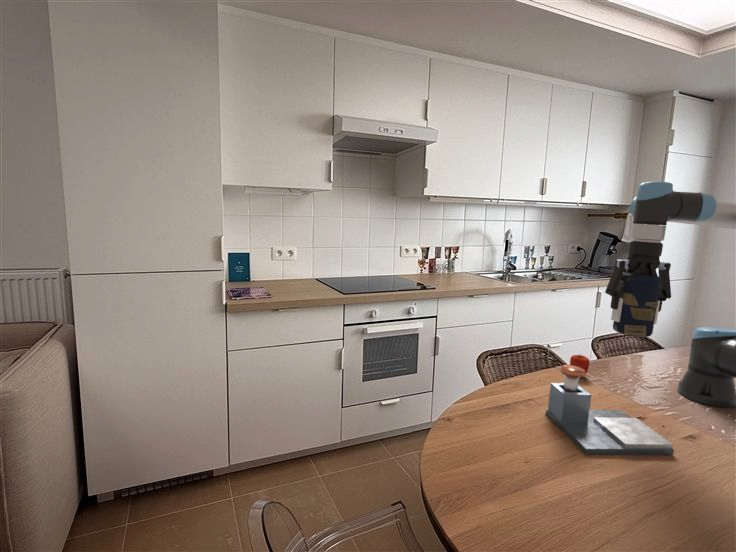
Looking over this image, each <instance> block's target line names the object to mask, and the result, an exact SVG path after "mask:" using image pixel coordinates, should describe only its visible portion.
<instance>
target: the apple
mask: <svg viewBox="0 0 736 552" xmlns="http://www.w3.org/2000/svg"><path fill="white" fill-rule="evenodd" d="M569 365H572V366H577V367H580V368H582V369H584V370H585V376H586V375H587V373H588V372H589V367H590V359H589V358H588V357H587V356H585V355H582V354H574V355H573V354H572V355H571V356H570V359H569Z"/></svg>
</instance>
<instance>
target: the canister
mask: <svg viewBox="0 0 736 552" xmlns="http://www.w3.org/2000/svg"><path fill="white" fill-rule="evenodd" d="M631 273H632V272H631ZM620 281H621V282H622V283H625V282H626V286H625V292H624V293H623V294H622V296H621V297H620V298H622V299H623V304H622V310H621V317H620V322H616V321H614V320H613V323H612V329H613V330H614V331H615V332H617V333H618V334H621V335H626V336H631V337H636V338H647V337H651V336H652V335H653V333H654V326H655V324H654V321H655V315H656V308H657V306H658V296H659V290H660V282H661V279H660V277H659V275H658V276H652V275H631V274H627V273H625V272H624V273H623V275H622V277H621V280H620Z"/></svg>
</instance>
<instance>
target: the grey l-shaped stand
mask: <svg viewBox="0 0 736 552" xmlns="http://www.w3.org/2000/svg"><path fill="white" fill-rule="evenodd" d="M563 385H564V382H560V383H559V382H550V388H549V395H548V396H549V397H548V405H547V408H546V410H545V415H546V416H547V417H548V418H549V419H550V420H551V422H553V423H554V424H555V425H556V426H557V427H558V428H559V429H560V430H561V431H562V432H563V433H564V434H565V436H567V437H568V438H569V439H570V441H572V443H573V444H574V445H576V446H577V448H579V450H580V451H581V452H582V453H583V454H584V455H590V456H591V455H596V456H597V455H604V456H605V455H609V456H610V455H611V456H613V455H614V456H618V455H619V456H624V455H625V456H674V452H675V449H674V448H673V447H674V444H673V443H672V442H670V441H669V440H667V438H665V437H664V436H662V435H660V434H659V433H658V432H657V431H655V430H654V429H652V428H651V427H649V426H648V425H646V424H645V423H644V422H643V421H641V420H640V419H638V417H637V418H636V417H630V415H627V413H625V412H624V411H622V410H621V409H591V408H590V406H591V400H592V394H591V393H589V392H588V391H587V390H585V389H584V388H583V387H581V386H580V385H578V392H566V391H565V390H563Z"/></svg>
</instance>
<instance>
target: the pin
mask: <svg viewBox="0 0 736 552" xmlns="http://www.w3.org/2000/svg"><path fill="white" fill-rule="evenodd" d="M560 373H561V374H562V375H564V379H563V383H564V385H563V390H565V391H566V392H578V385H579V384H580V383H579V382H580V378H584V377H585V376H586V375H585V370H584V369H582V368H580V367H577V366H572V365H570V364H562V365H561V366H560ZM579 386H580V385H579Z"/></svg>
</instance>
